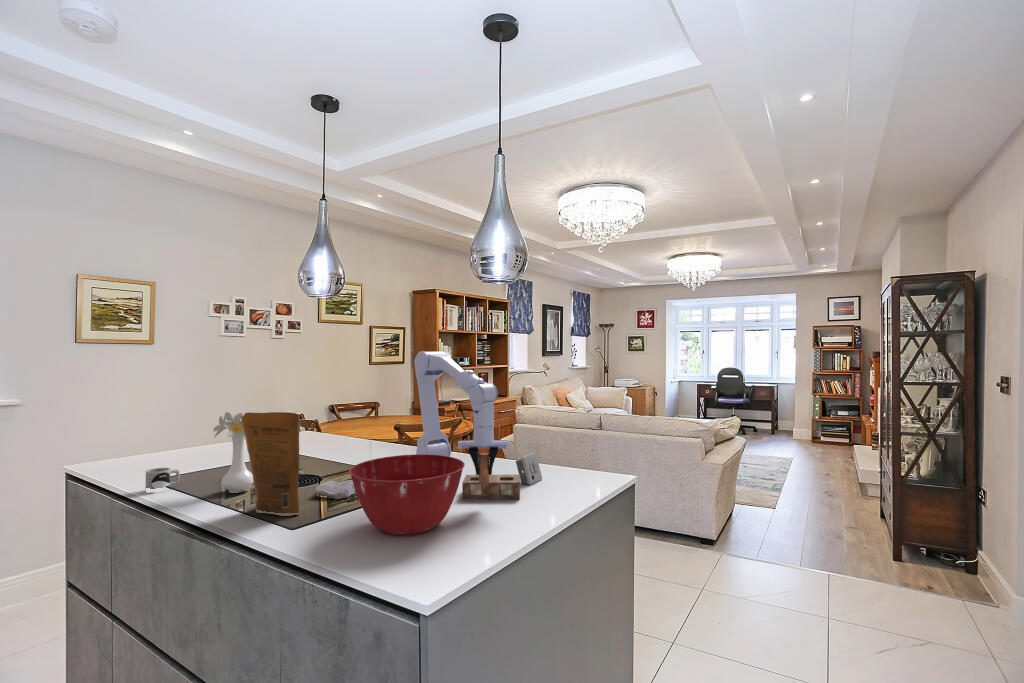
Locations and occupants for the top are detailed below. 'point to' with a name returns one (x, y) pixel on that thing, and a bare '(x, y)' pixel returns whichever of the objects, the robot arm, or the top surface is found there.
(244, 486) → the flower vase
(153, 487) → the mug
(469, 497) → the socket block
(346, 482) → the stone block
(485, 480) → the peg
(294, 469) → the pancake mix bag
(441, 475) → the mixing bowl
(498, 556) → the top surface
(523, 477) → the electrical switch
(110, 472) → the top surface
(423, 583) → the top surface
